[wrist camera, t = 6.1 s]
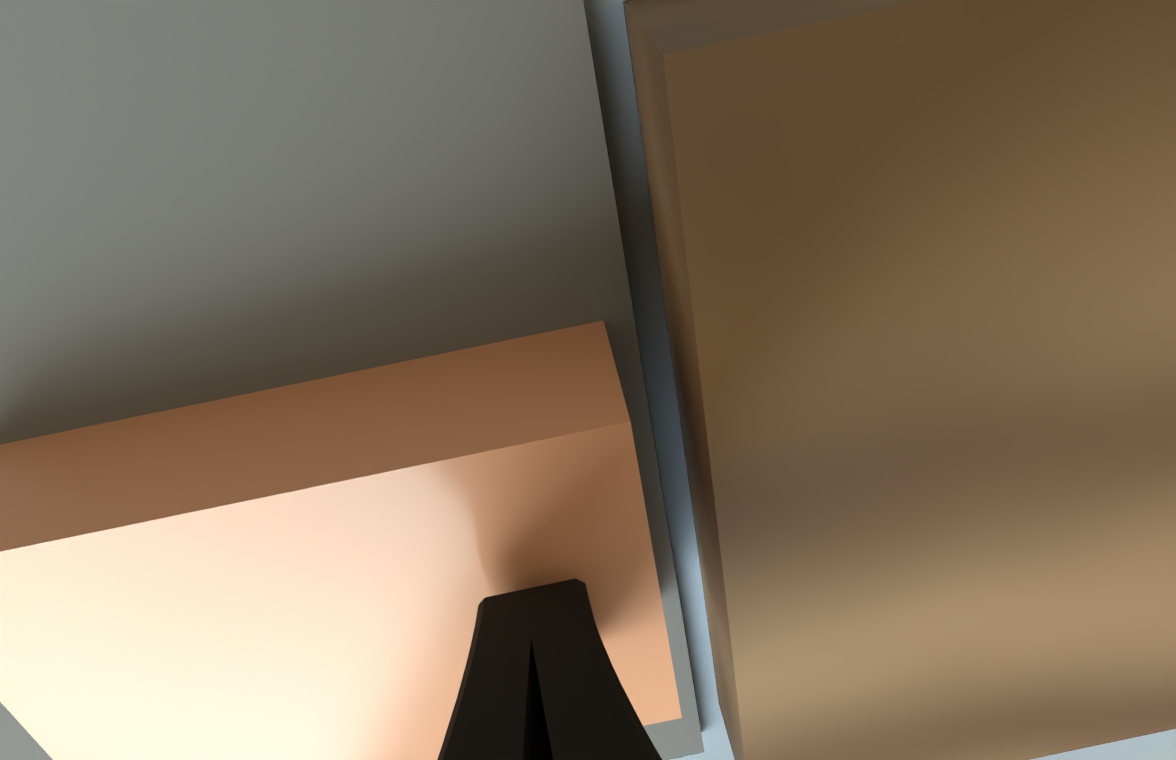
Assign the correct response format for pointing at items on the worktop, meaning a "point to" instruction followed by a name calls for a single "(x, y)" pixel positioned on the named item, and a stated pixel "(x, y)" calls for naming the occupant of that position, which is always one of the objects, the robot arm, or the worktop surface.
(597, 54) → the worktop surface
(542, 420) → the tile
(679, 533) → the worktop surface
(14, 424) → the mat
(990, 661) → the brown wooden flat slab
